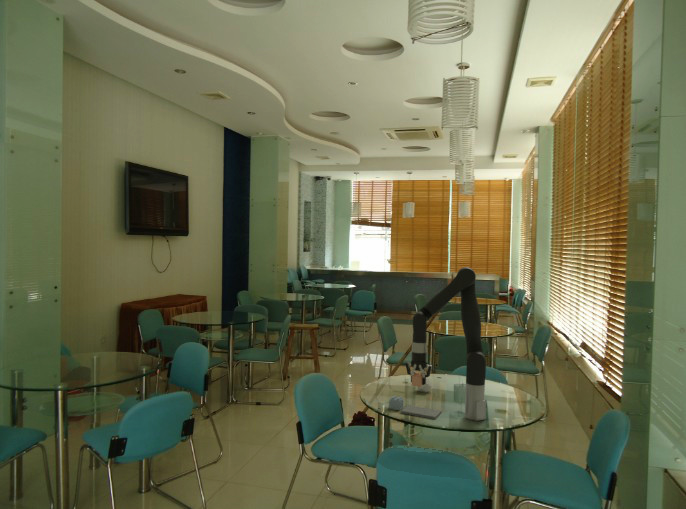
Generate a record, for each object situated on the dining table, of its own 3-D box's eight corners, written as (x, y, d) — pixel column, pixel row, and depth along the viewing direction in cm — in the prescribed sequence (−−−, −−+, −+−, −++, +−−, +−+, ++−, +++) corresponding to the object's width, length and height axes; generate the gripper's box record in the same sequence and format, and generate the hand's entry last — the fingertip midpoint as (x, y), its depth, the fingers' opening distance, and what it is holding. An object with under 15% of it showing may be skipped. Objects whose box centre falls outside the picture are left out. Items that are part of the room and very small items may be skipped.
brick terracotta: (415, 382, 268) (415, 371, 268) (424, 384, 266) (425, 373, 266) (411, 385, 263) (411, 374, 263) (421, 387, 261) (421, 375, 260)
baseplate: (441, 413, 265) (441, 410, 265) (435, 419, 255) (435, 416, 255) (408, 407, 273) (408, 404, 273) (400, 413, 263) (400, 410, 263)
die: (434, 392, 304) (428, 376, 309) (432, 388, 297) (427, 372, 302) (420, 396, 305) (415, 381, 310) (419, 392, 297) (413, 377, 303)
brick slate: (403, 407, 272) (403, 396, 272) (399, 410, 267) (400, 399, 267) (392, 406, 275) (392, 395, 274) (389, 408, 270) (389, 397, 270)
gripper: (403, 350, 264) (402, 383, 264) (430, 353, 257) (429, 387, 258) (408, 348, 271) (407, 380, 271) (435, 351, 264) (434, 384, 264)
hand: (418, 383), depth 264 cm, fingers closed on brick terracotta, 5 cm apart
